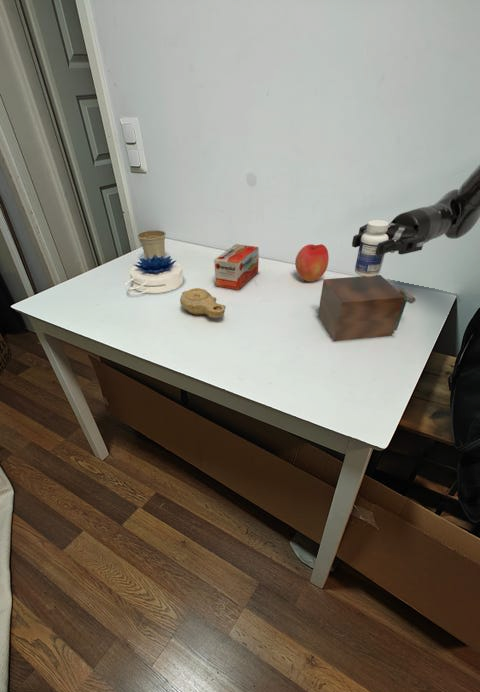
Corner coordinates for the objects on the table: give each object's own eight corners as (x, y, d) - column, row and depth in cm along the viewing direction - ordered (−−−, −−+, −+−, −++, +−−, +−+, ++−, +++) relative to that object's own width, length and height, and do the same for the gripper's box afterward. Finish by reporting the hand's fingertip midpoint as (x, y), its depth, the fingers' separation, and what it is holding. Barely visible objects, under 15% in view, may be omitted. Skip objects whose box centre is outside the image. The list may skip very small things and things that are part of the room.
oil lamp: (222, 326, 87) (221, 307, 83) (171, 318, 90) (168, 300, 86) (235, 307, 94) (235, 289, 90) (187, 301, 97) (185, 283, 93)
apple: (323, 274, 109) (329, 240, 102) (326, 286, 102) (332, 251, 95) (293, 273, 110) (296, 239, 103) (293, 285, 103) (297, 250, 96)
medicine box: (236, 268, 113) (235, 242, 107) (258, 272, 111) (259, 246, 105) (214, 286, 103) (213, 259, 98) (239, 291, 101) (238, 263, 95)
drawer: (391, 307, 91) (401, 277, 85) (413, 328, 83) (425, 297, 77) (327, 313, 89) (332, 283, 83) (343, 335, 81) (350, 304, 76)
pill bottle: (359, 266, 78) (370, 217, 71) (383, 270, 75) (396, 221, 68) (350, 274, 75) (360, 224, 68) (374, 279, 72) (387, 228, 65)
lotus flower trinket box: (152, 247, 109) (104, 267, 97) (191, 256, 103) (144, 279, 91) (156, 269, 114) (111, 291, 102) (193, 279, 108) (149, 304, 96)
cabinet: (370, 311, 91) (380, 274, 84) (391, 335, 83) (405, 297, 76) (317, 315, 90) (323, 279, 83) (334, 341, 81) (342, 302, 74)
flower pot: (148, 255, 123) (143, 229, 116) (173, 257, 121) (169, 230, 115) (138, 265, 116) (132, 238, 110) (164, 267, 115) (159, 239, 109)
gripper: (392, 202, 78) (342, 217, 71) (452, 216, 70) (402, 234, 63) (383, 238, 83) (335, 255, 76) (437, 255, 75) (390, 275, 68)
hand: (365, 245), depth 70 cm, fingers closed on pill bottle, 5 cm apart
